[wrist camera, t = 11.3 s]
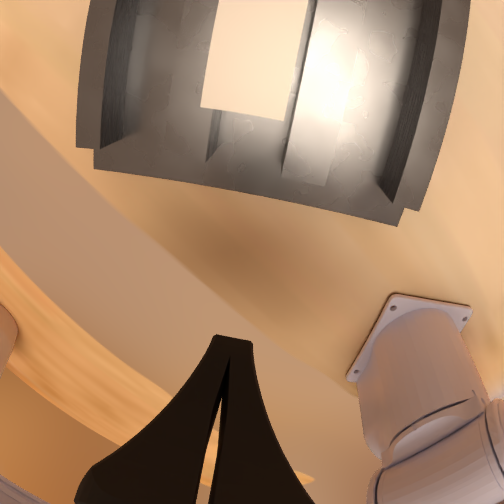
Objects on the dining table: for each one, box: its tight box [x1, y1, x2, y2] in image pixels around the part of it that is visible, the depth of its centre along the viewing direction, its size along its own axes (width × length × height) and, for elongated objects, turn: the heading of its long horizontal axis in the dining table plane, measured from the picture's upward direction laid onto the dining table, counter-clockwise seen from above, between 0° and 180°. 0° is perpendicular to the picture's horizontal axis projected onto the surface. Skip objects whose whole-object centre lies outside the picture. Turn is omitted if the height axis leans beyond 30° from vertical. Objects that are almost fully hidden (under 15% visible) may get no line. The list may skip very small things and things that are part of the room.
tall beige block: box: [200, 0, 308, 121], centre depth 10 cm, size 6×2×7 cm, turn 170°
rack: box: [76, 0, 471, 227], centre depth 12 cm, size 16×18×4 cm
